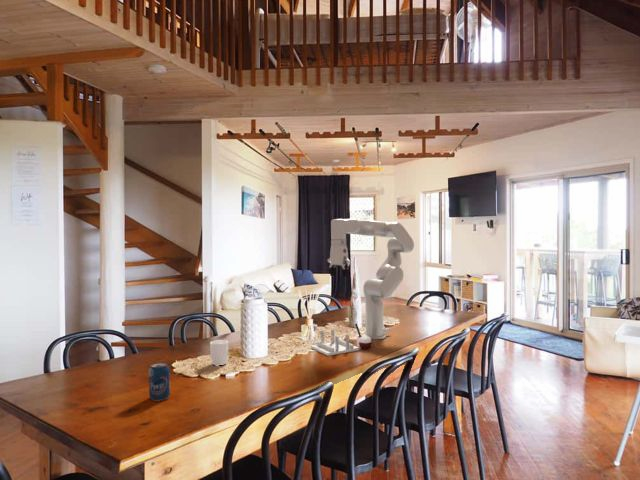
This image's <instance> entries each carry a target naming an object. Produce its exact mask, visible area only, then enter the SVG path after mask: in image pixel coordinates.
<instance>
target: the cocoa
mask: <svg viewBox="0 0 640 480" xmlns="http://www.w3.org/2000/svg"><path fill="white" fill-rule="evenodd" d="M354 325H355V328H356V331H357V335H358V336H359V337H358V345H359V346H358V347H359V349H361V350H363V351H366V350H369V349H372V348H374V345H375V342H372V339H371V338H370V337H369V336H368V335H363V334H361V332H360V331H361V330H360V329H359V326H358V323H354Z"/></svg>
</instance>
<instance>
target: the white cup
mask: <svg viewBox="0 0 640 480" xmlns="http://www.w3.org/2000/svg"><path fill="white" fill-rule="evenodd" d="M209 345H210V348H209V349H210V359H211V365H212V364H214V365H221V364H226V363H227V364H228V360H229V359H228V358H229V340H228V339H215V340H212V341H210V342H209ZM227 364H226V365H227Z"/></svg>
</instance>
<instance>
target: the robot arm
mask: <svg viewBox="0 0 640 480" xmlns="http://www.w3.org/2000/svg"><path fill="white" fill-rule="evenodd" d="M330 228H331V229H330V233H331V235H330V237H331V241H330V250H329V251H330V252H329V258H327V260H326V261H327V265H328V266H329V267H328V268H329V272H330V273H329V276H330V277H331V276H332V277H333V276H336V275H337V274H336V266H341V268H342V270H341V275H342V278H348V274H349V268H350V266H351V261H352V260H351V259H349V252H348V246H347V239H346V238H347V236H346V235H358V236H360V235H361V236H365V237H367V236H368V237H369V236H370V237H378V238H389V239H388V241H387V245H386V248H387V257H386V259H385V260H384V262H382V265H380V266H379V268H378V269H377V271H376V274H375V276H376V278H369V279H367V280H366V281H365V282H364V284H363V287H362V288H363V294H364V301H365V302H364V303H365V305H364V306H365V308H364V309H365V312H364V314H365V333H363V334H362V336H363V335H368V336H369V337H370V338H371V340H383V339H385V338H386V337H387V334H386V333H389V332H391V328H389V327H388V328H385V327H384V305H383V304H384V303H383V300H382V299H389V298H390V297H392V295H393V294H394V293H395V291H396V290H398V289H397V288H398V287H400V284H401V283H402V282H403V279H404V271H403V269H402V268H401V267H400V266H401V265H402V256H401V253H402V254H403V253H404V254H405V253H406V254H407V253H410V252H412V251H413V250H414V248H415V243H414V239H413V238H412V237H411V235H410V234H409V233H408V230H406V228H405V227H404V225H403V224H402V223H400V222H398V221H391V222H390V221H382V220H381V221H380V220H379V221H378V220H371V219H366V220H358V219H357V218H334V219H332V220H331V221H330Z"/></svg>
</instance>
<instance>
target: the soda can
mask: <svg viewBox="0 0 640 480" xmlns="http://www.w3.org/2000/svg"><path fill="white" fill-rule="evenodd" d="M170 376H171V374H170V367H169V366H168V363H167V362H165V361H164V362H163V361H161V362H160V361H159V362H154V363H151V364H150V367H149V370H148V391H149V398H150V399H151V400H152V401H153V400H154V402H156V401H157V402H159V401H160V400H161V401H165V400H167V399H168V398H169V396H170V395H171V380H170V379H171V377H170ZM164 399H165V400H164Z"/></svg>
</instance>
